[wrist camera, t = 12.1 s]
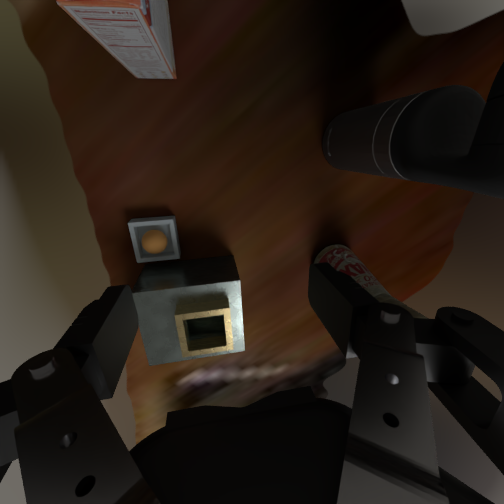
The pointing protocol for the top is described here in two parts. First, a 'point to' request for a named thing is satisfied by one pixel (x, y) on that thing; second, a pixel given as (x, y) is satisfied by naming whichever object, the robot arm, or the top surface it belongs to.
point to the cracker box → (129, 32)
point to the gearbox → (189, 309)
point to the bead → (154, 241)
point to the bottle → (359, 274)
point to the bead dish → (155, 223)
